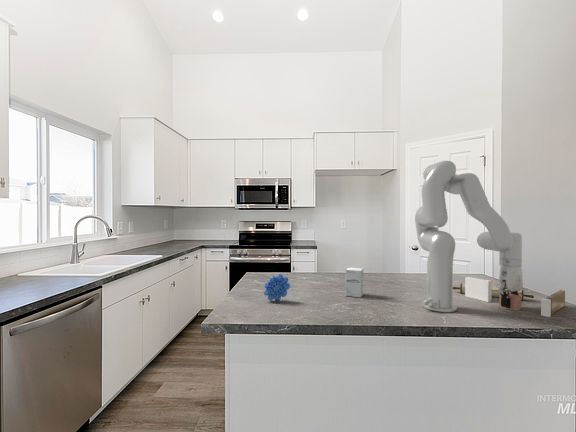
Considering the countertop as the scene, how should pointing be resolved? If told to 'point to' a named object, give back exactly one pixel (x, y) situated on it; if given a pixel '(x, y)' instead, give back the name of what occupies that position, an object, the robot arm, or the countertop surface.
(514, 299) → the block
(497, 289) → the rolling pin
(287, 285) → the grapes
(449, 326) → the countertop surface
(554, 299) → the door
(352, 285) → the supplement box
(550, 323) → the countertop surface
